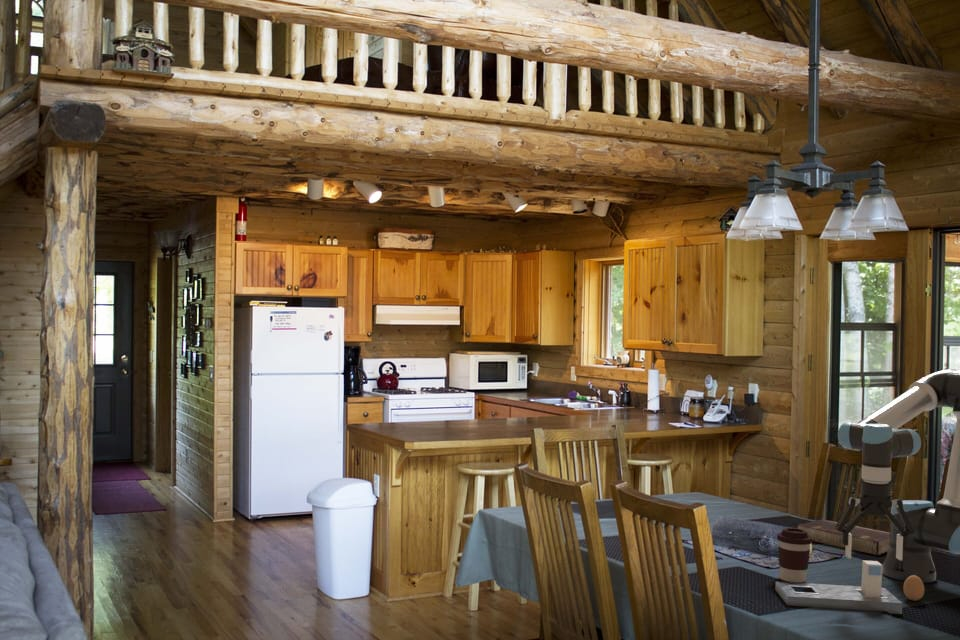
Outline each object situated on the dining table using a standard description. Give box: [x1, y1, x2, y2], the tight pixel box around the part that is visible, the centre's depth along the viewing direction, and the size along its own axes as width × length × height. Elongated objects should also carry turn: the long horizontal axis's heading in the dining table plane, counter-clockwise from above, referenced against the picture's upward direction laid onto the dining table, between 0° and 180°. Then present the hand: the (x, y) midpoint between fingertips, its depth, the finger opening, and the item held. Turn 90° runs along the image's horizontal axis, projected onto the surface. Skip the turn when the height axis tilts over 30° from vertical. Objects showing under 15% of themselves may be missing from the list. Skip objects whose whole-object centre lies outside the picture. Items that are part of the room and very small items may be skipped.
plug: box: [860, 559, 883, 597], centre depth 267 cm, size 4×5×11 cm
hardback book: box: [797, 518, 890, 556], centre depth 341 cm, size 29×19×5 cm, turn 44°
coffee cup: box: [776, 527, 813, 583], centre depth 288 cm, size 10×10×15 cm
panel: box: [774, 581, 903, 615], centre depth 268 cm, size 30×14×3 cm, turn 86°
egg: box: [902, 575, 925, 602], centre depth 273 cm, size 5×5×7 cm
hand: (873, 558), depth 268 cm, fingers open, 13 cm apart
